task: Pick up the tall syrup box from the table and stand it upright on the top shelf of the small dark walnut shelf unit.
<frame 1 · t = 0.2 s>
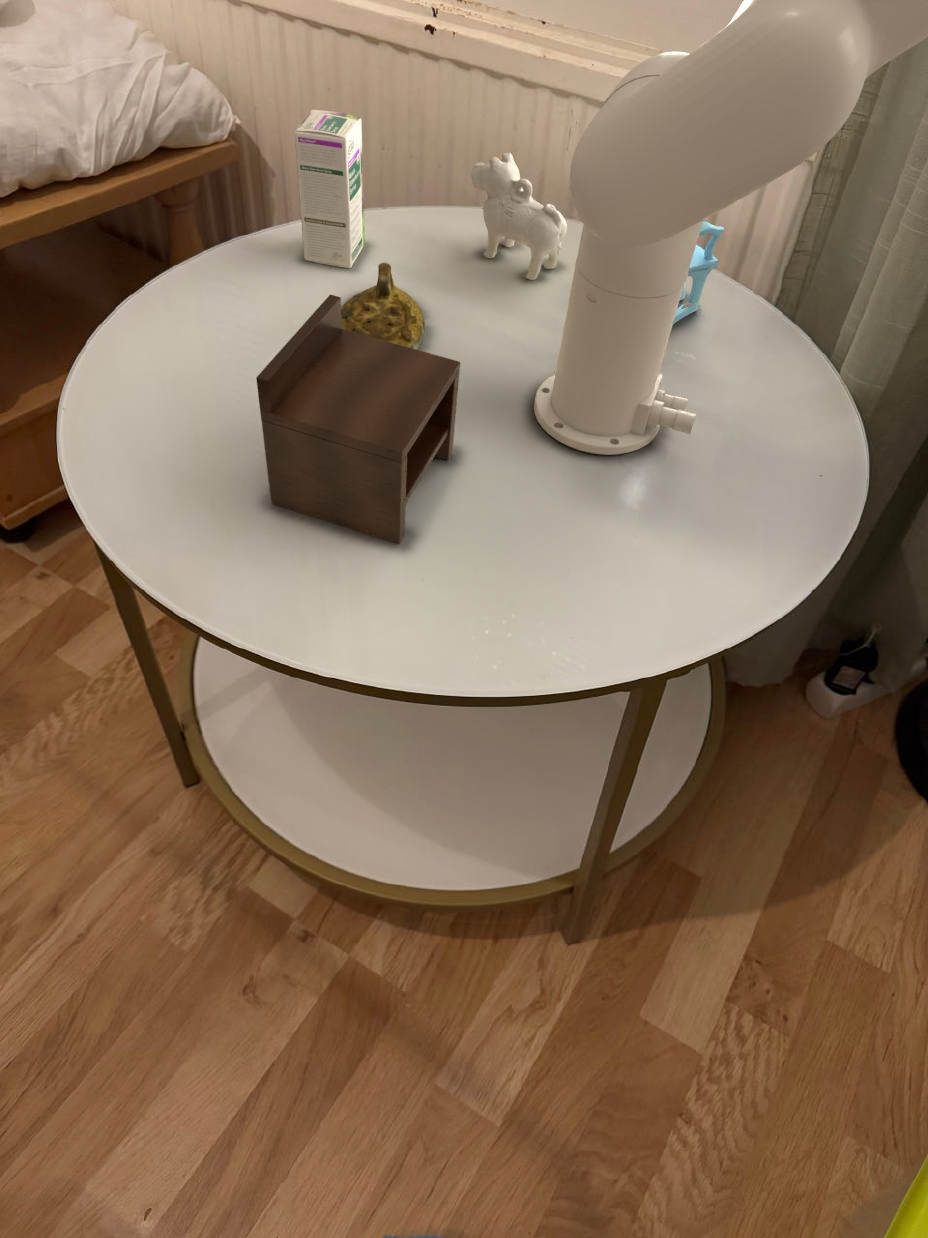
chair: (660, 311, 103), on the table
seal: (380, 331, 96), on the table
syrup box: (334, 254, 106), on the table
shelf: (365, 477, 81), on the table
dog figurine: (511, 258, 108), on the table
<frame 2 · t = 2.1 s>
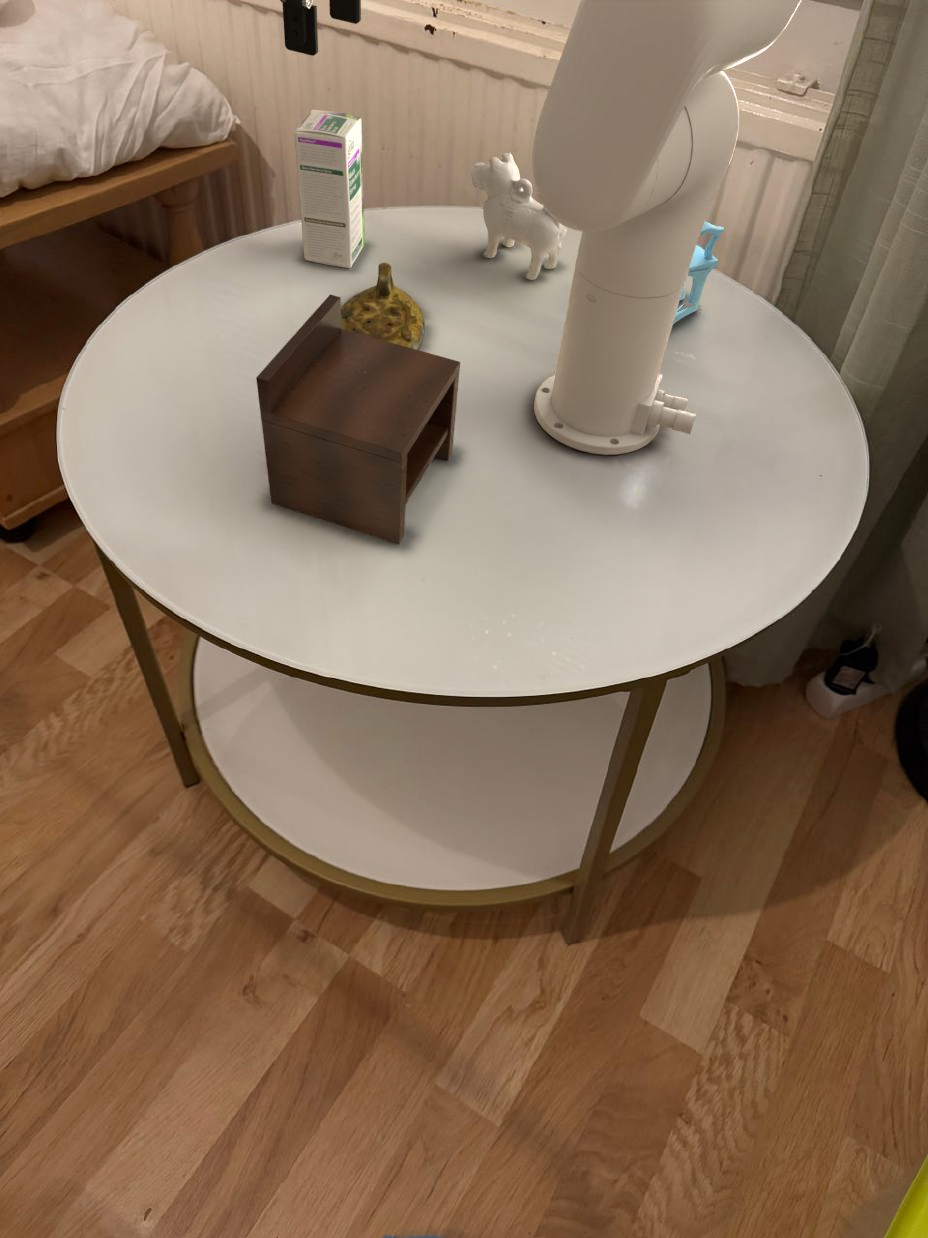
hand: (324, 35, 88), 22 cm above the table, tool pointing down, fingers open, 9 cm apart
nothing on the table moved.
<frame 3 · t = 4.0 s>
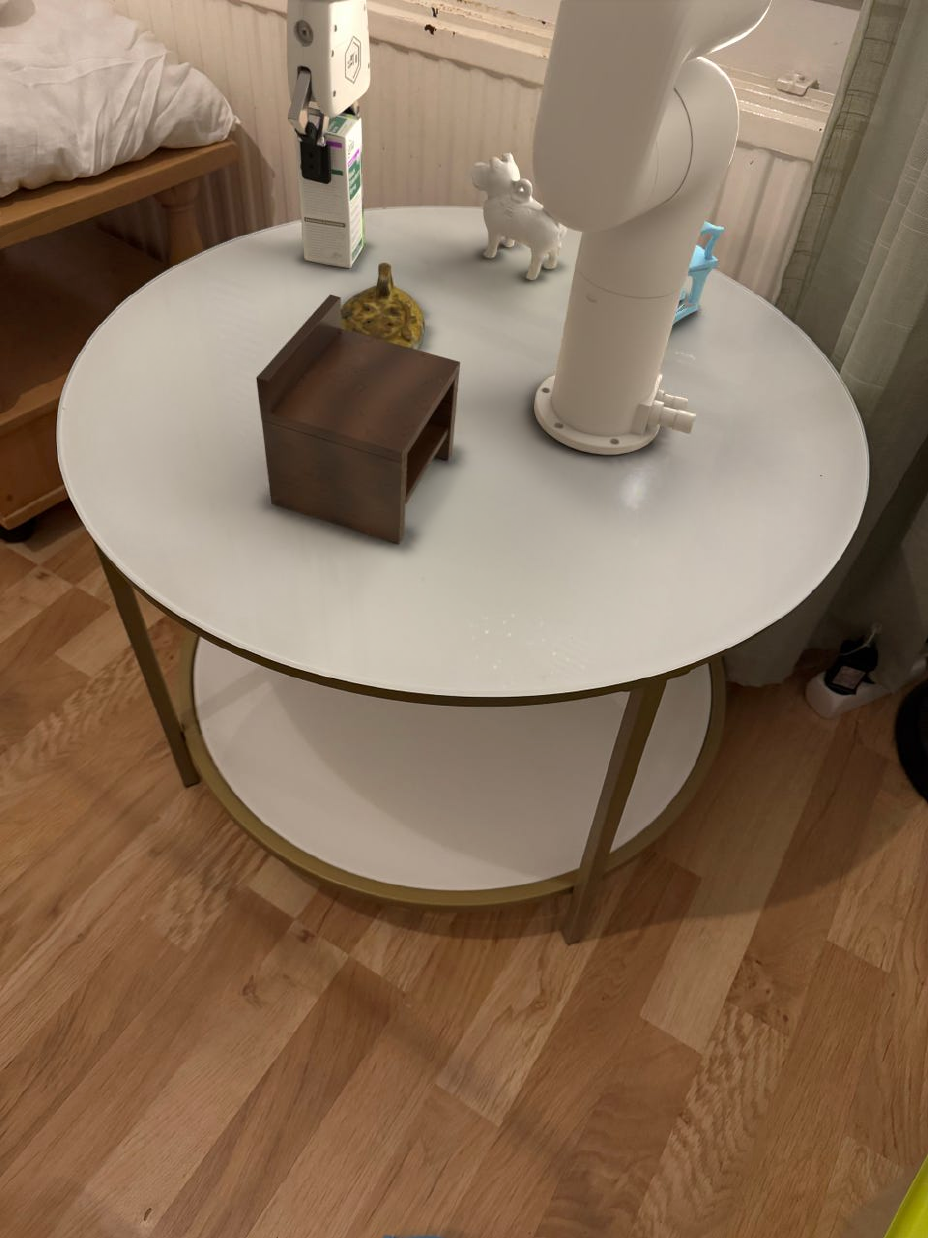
hand: (330, 165, 98), 10 cm above the table, tool pointing down, fingers closed on syrup box, 6 cm apart
syrup box: (334, 254, 106), on the table, touching gripper
everything else where it was.
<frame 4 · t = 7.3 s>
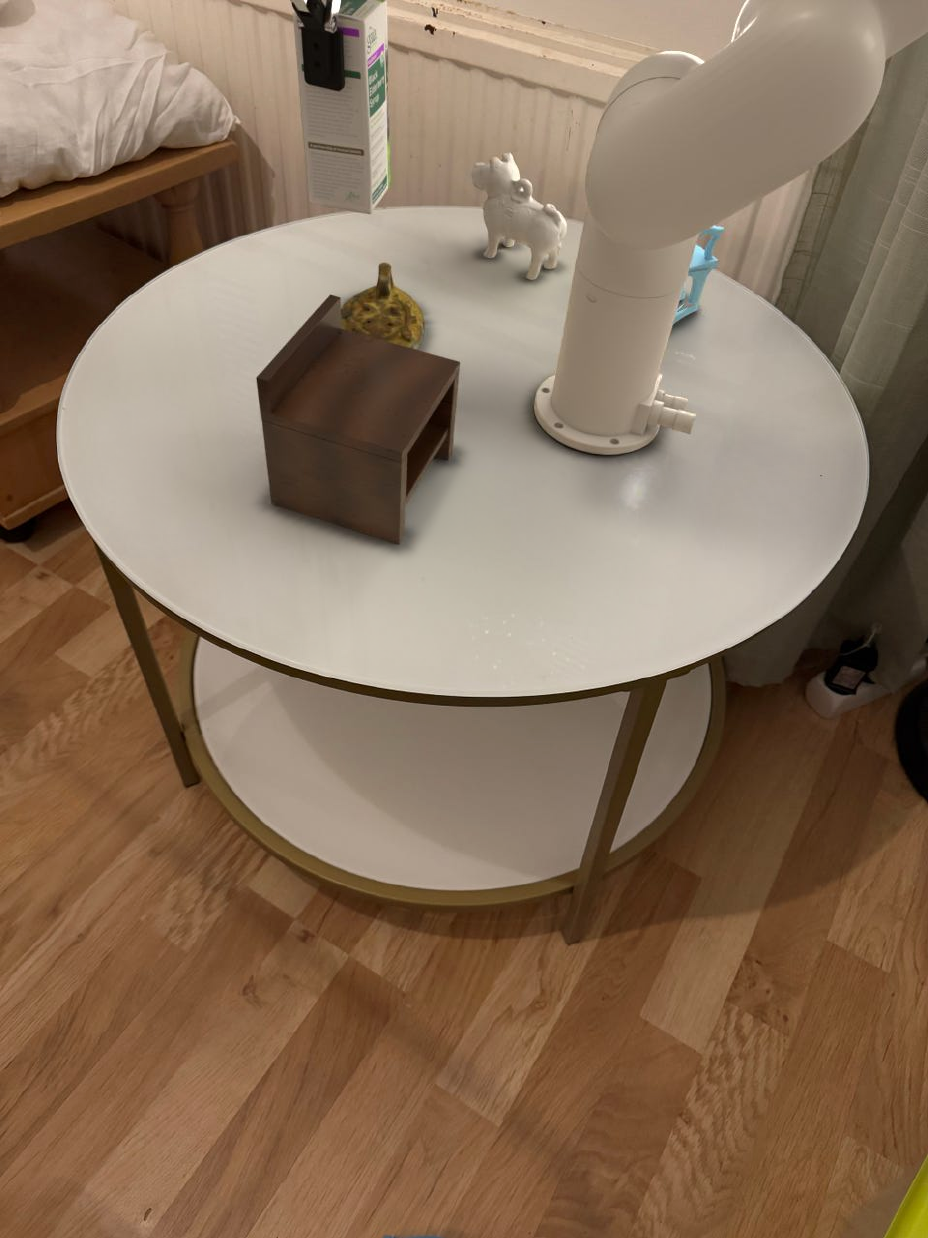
hand: (345, 68, 71), 27 cm above the table, tool pointing down, fingers closed on syrup box, 6 cm apart
syrup box: (349, 197, 79), point 17 cm above the table, touching gripper
everything else where it was.
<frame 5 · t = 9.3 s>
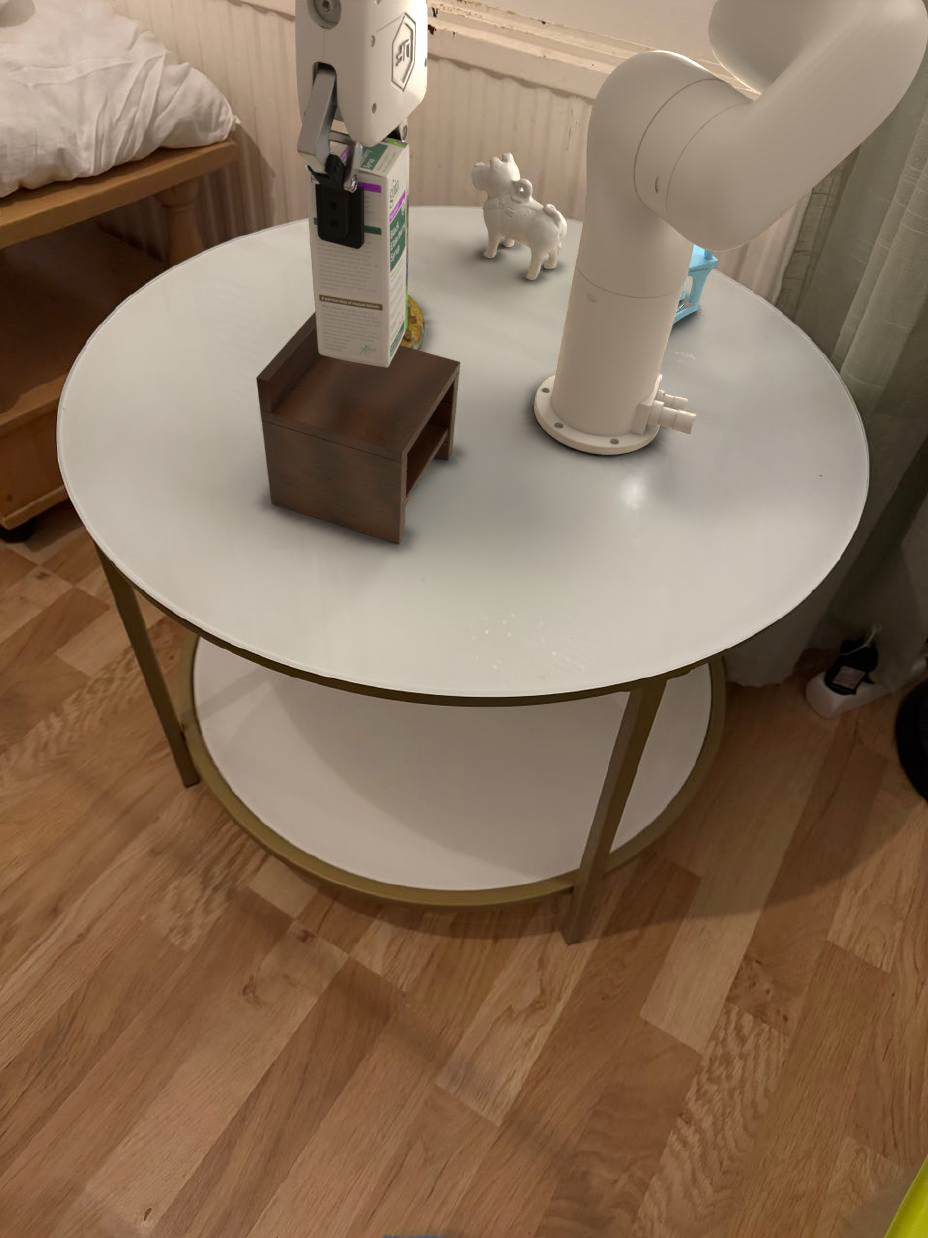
hand: (362, 217, 63), 24 cm above the table, tool pointing down, fingers closed on syrup box, 6 cm apart
syrup box: (362, 344, 71), point 14 cm above the table, touching gripper
everything else where it was.
when the fingers open (20 cm above the table, at t = 10.8 s): syrup box stays where it is, resting on shelf.
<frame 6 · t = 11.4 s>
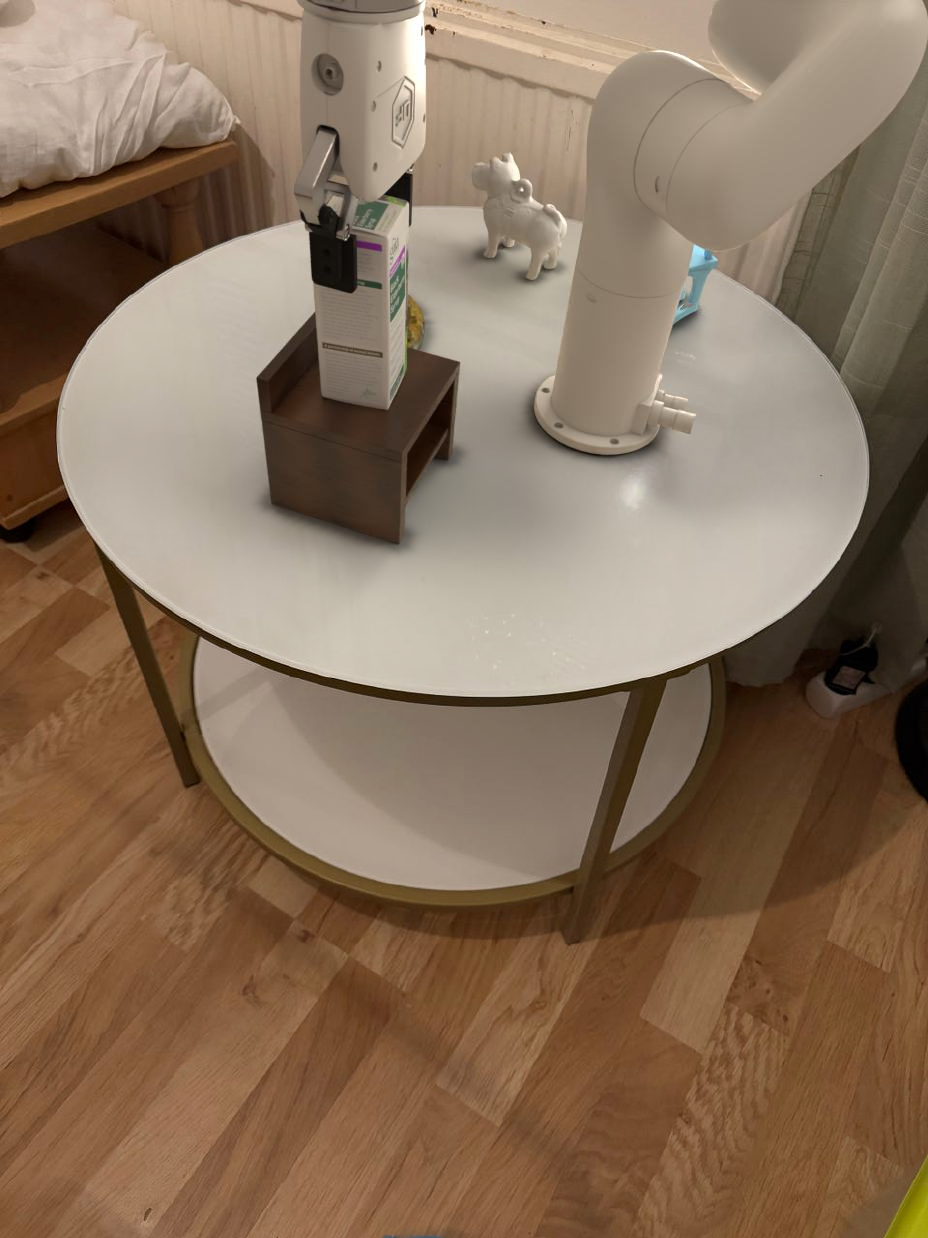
hand: (363, 254, 65), 21 cm above the table, tool pointing down, fingers open, 9 cm apart
syrup box: (363, 386, 74), point 10 cm above the table, touching shelf
everything else where it was.
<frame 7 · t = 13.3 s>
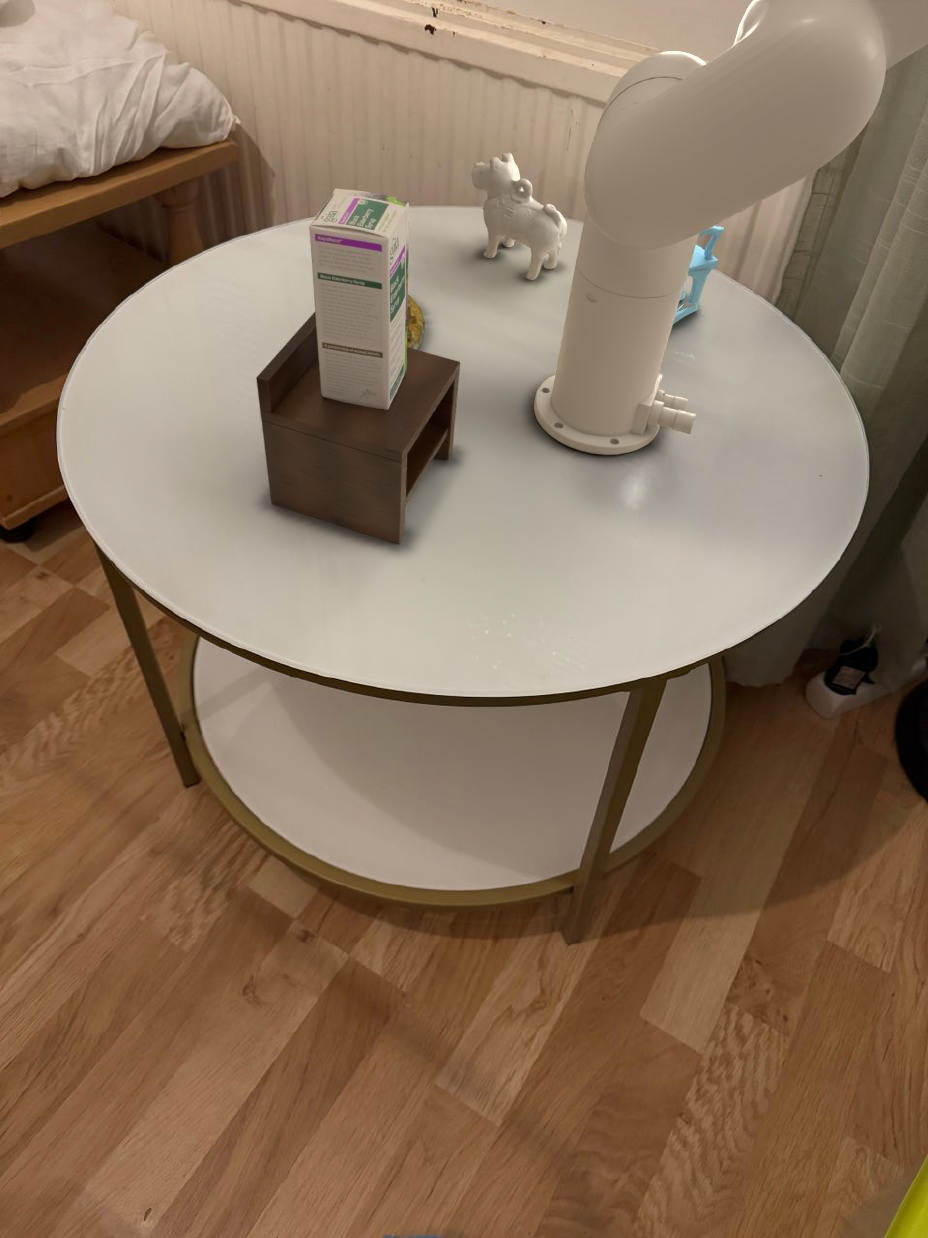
nothing on the table moved.
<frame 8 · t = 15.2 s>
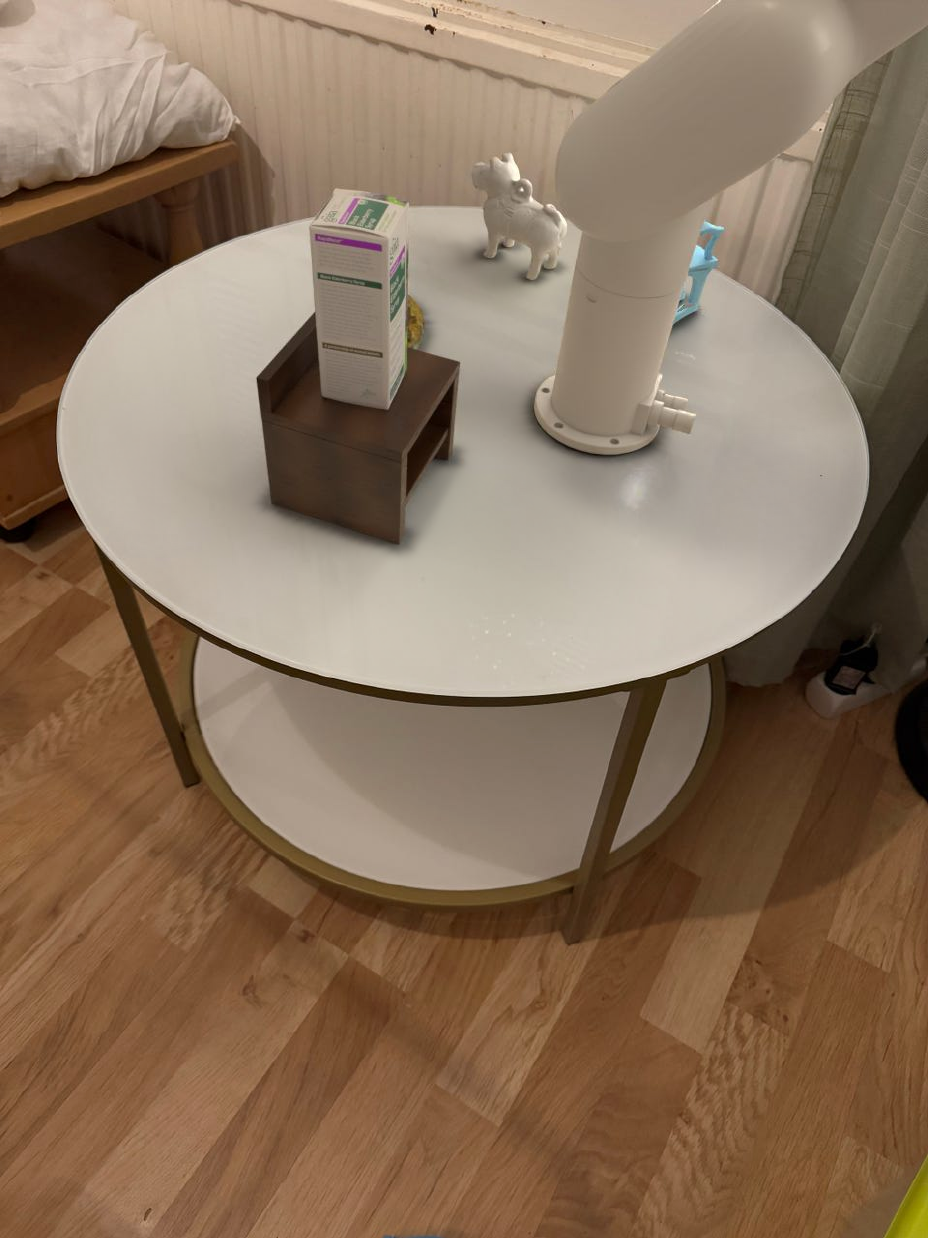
nothing on the table moved.
at the end: syrup box inside the target area on the shelf (0.1 cm from its centre), point 9.8 cm above the shelf's base; syrup box tilted 0°; the gripper is holding nothing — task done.
